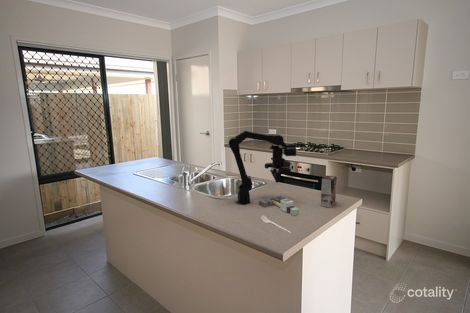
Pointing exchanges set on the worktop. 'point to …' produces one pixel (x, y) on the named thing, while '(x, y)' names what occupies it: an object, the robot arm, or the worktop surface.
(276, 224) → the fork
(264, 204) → the cord rig
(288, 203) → the grey block
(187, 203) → the worktop surface
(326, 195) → the coffee box
